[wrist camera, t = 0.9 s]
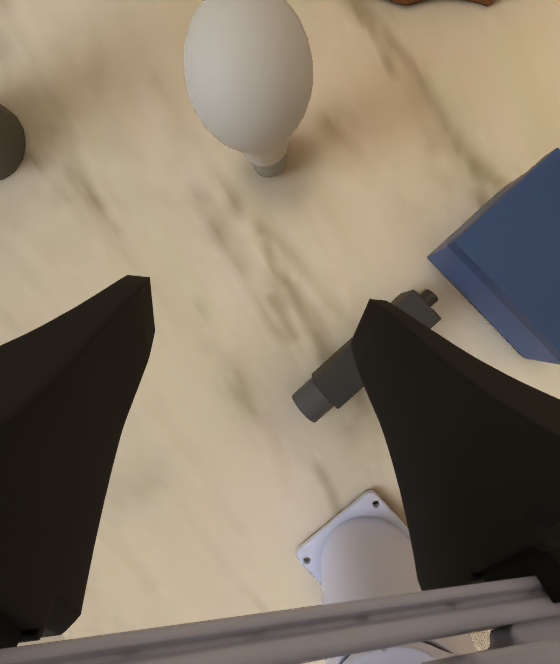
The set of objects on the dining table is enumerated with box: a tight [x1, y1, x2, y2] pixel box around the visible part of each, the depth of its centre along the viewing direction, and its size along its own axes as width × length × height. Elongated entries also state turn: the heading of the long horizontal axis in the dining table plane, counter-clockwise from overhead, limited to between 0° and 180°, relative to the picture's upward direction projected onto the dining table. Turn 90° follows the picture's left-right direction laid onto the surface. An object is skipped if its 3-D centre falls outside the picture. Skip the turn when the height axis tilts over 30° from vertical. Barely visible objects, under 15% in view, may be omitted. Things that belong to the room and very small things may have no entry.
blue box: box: [427, 148, 560, 364], centre depth 19 cm, size 10×7×4 cm
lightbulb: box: [183, 0, 313, 177], centre depth 17 cm, size 6×6×11 cm
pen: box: [292, 289, 441, 422], centre depth 21 cm, size 12×3×3 cm, turn 133°
